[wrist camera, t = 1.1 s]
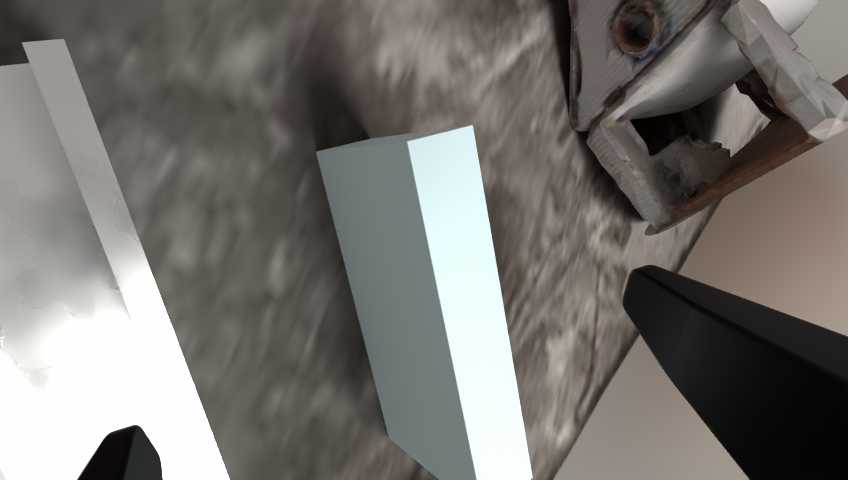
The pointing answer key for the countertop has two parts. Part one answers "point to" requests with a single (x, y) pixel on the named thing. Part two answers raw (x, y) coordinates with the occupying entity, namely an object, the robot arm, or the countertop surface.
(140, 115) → the countertop surface
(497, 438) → the door panel
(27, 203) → the floor track
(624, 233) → the countertop surface
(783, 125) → the rusty metal skip
